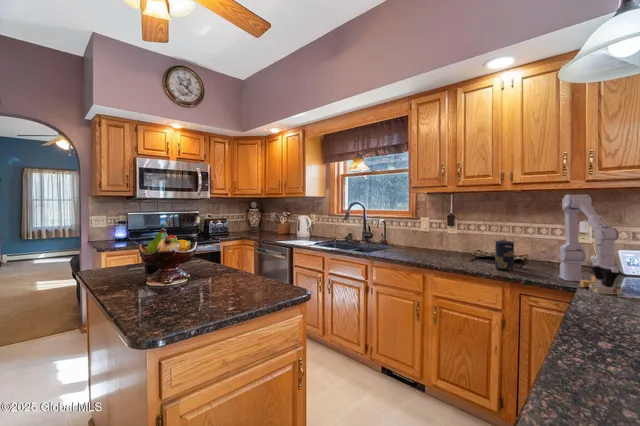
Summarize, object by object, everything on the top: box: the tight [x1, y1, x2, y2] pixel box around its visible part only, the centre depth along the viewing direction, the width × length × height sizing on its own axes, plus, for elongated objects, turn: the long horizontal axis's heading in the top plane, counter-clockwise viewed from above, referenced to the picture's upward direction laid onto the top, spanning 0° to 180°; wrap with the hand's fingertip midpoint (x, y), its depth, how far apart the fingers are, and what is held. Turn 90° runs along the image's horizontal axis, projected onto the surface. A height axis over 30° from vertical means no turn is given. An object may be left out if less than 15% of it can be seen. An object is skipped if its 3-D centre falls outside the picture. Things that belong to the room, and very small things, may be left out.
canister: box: [494, 239, 515, 271], centre depth 184 cm, size 10×10×18 cm
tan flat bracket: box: [588, 285, 621, 295], centre depth 138 cm, size 6×8×2 cm
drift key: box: [579, 275, 595, 288], centre depth 146 cm, size 4×6×5 cm
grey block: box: [595, 278, 614, 292], centre depth 138 cm, size 4×5×5 cm
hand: (604, 285), depth 138 cm, fingers open, 6 cm apart
